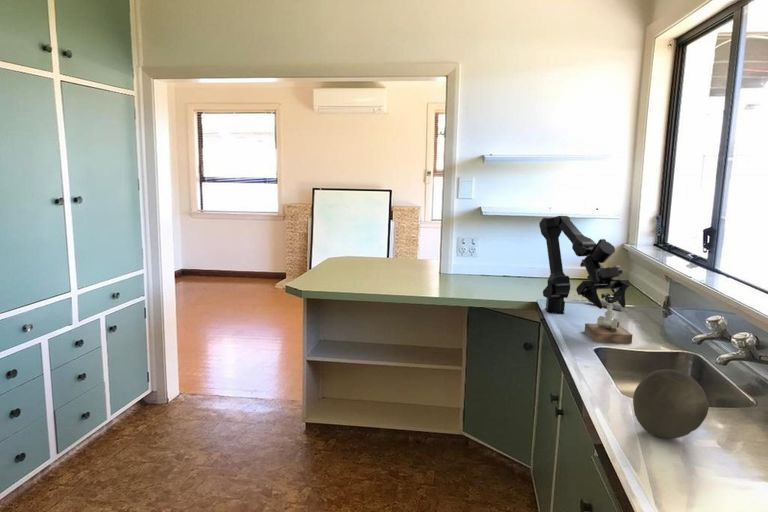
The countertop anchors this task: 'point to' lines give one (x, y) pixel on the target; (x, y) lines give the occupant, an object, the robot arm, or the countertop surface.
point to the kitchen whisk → (604, 303)
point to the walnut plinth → (608, 334)
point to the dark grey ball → (669, 404)
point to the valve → (609, 313)
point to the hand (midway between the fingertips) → (612, 307)
